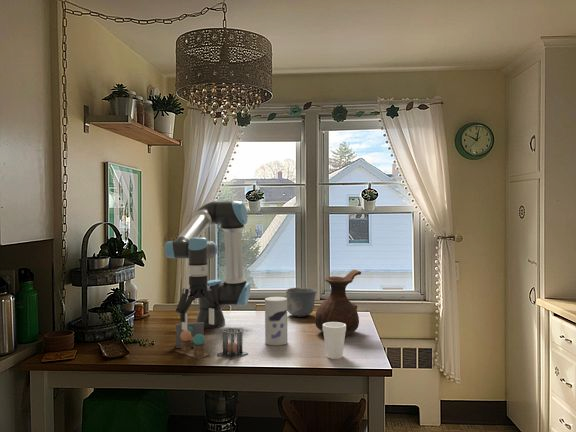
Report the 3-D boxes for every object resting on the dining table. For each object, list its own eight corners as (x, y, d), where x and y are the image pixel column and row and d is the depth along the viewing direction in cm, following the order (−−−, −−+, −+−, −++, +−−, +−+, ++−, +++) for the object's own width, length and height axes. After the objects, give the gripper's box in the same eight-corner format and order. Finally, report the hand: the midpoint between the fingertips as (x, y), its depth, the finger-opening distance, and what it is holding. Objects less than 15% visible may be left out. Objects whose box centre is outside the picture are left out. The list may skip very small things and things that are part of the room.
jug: (356, 341, 217) (355, 275, 217) (310, 337, 224) (309, 273, 223) (363, 329, 238) (362, 269, 238) (320, 326, 244) (320, 268, 244)
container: (271, 346, 209) (270, 301, 209) (261, 341, 218) (261, 297, 217) (291, 343, 213) (291, 299, 213) (281, 338, 222) (281, 295, 222)
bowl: (323, 315, 270) (322, 288, 270) (307, 321, 256) (307, 293, 255) (296, 311, 280) (296, 286, 280) (279, 317, 265) (279, 290, 265)
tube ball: (224, 353, 198) (224, 342, 198) (233, 351, 201) (233, 340, 201) (231, 355, 195) (231, 344, 195) (240, 353, 198) (240, 342, 198)
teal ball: (190, 345, 197) (190, 334, 197) (200, 342, 200) (199, 331, 200) (197, 347, 194) (197, 336, 194) (206, 344, 197) (206, 333, 197)
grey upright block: (176, 344, 213) (176, 322, 213) (203, 342, 216) (203, 320, 216) (176, 347, 209) (175, 325, 208) (204, 345, 211) (203, 323, 211)
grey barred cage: (217, 355, 198) (216, 330, 198) (233, 350, 204) (233, 326, 204) (231, 359, 192) (231, 334, 191) (248, 354, 198) (247, 330, 198)
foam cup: (321, 353, 199) (321, 322, 199) (343, 352, 200) (343, 321, 200) (325, 360, 189) (324, 327, 189) (348, 359, 190) (347, 327, 190)
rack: (175, 351, 203) (175, 340, 203) (187, 348, 208) (187, 337, 208) (198, 359, 192) (198, 347, 192) (210, 355, 197) (209, 344, 197)
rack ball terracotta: (178, 341, 203) (178, 330, 203) (187, 339, 206) (187, 328, 206) (184, 343, 200) (184, 332, 200) (193, 341, 203) (193, 330, 203)
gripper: (177, 279, 185) (177, 333, 185) (227, 273, 203) (227, 323, 203) (166, 277, 190) (167, 330, 190) (216, 271, 208) (216, 320, 208)
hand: (198, 326), depth 197 cm, fingers open, 13 cm apart
